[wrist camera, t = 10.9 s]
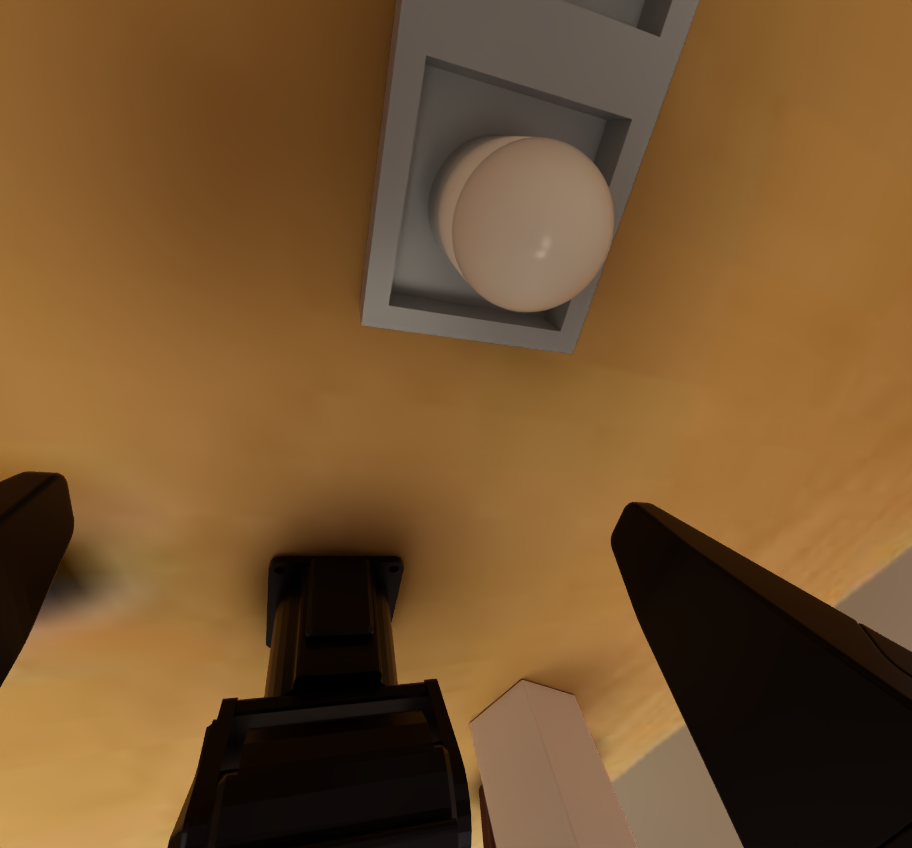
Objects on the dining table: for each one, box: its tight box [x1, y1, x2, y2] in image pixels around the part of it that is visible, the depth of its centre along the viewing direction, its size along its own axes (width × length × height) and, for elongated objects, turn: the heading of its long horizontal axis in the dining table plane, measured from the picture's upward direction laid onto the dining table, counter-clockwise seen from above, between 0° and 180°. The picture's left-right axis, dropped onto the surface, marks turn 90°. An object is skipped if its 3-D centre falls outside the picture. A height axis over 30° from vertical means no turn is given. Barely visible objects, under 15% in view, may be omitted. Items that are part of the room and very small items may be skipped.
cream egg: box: [428, 135, 614, 312], centre depth 14 cm, size 4×4×6 cm
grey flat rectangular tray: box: [359, 0, 699, 354], centre depth 14 cm, size 17×8×2 cm, turn 167°
